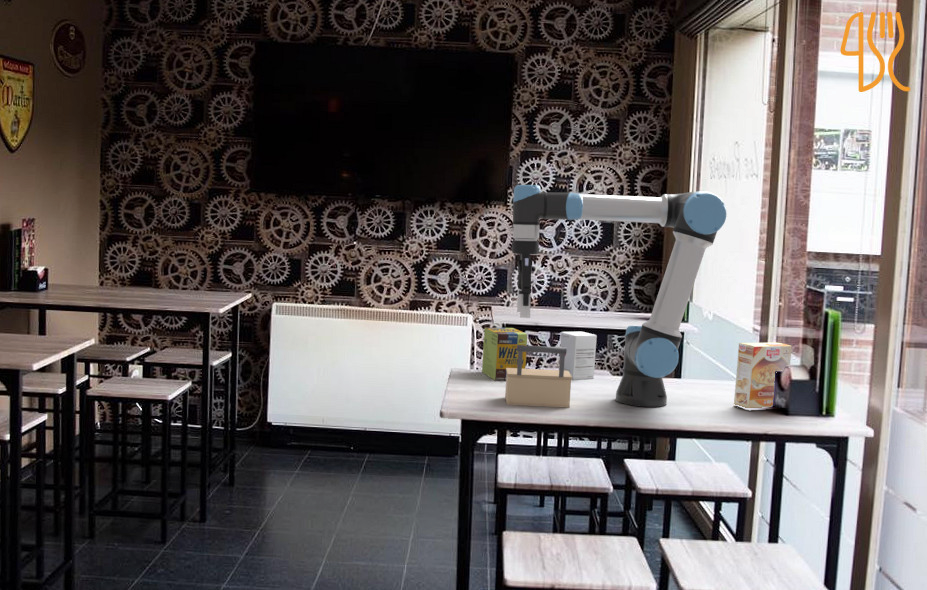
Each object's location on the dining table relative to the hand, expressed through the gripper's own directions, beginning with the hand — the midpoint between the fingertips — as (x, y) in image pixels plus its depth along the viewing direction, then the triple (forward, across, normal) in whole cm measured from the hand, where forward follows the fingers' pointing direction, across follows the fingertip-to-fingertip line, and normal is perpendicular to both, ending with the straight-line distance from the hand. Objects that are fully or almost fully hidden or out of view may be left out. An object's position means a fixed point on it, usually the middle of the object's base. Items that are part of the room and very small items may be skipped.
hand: (523, 314), depth 279 cm
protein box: (+26, -46, -3) cm, 53 cm away
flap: (+18, -5, +5) cm, 20 cm away
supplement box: (+27, -52, +22) cm, 62 cm away
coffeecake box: (+28, -14, +73) cm, 79 cm away
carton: (+26, -6, +5) cm, 27 cm away
